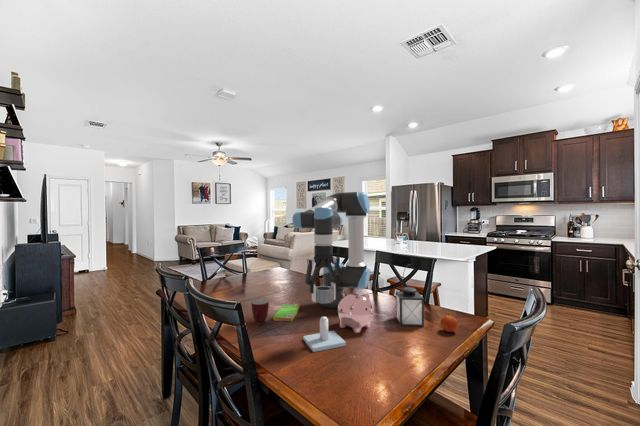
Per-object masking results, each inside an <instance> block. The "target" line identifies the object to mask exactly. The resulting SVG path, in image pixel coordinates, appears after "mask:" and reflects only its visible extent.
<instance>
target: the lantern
mask: <svg viewBox="0 0 640 426" xmlns="http://www.w3.org/2000/svg"><path fill="white" fill-rule="evenodd" d="M408 266H412V267H414V265H413V264H407V265H406V266H405V267H404V268H403V272H402V273H403V274H402V277H404V274H405V270H406V268H407V267H408ZM415 269H416V268H413V271H414V272H416V270H415ZM395 318H396V319H397V322H398V324H399V326H400V327H425V298H424V297H423V295H421V294H420V292H419V291H418V290H417V289H416V287H412V286H411V287H410V286H403V287H402V288H401V291H395Z"/></svg>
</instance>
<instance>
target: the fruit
mask: <svg viewBox="0 0 640 426" xmlns="http://www.w3.org/2000/svg"><path fill="white" fill-rule="evenodd" d="M440 325H441V326H440V327H441V328H442V329H443V330H444V331H446V332H447V333H453V332H455V331H456V330H457V329H458V321H457V319H456V317H454V316H453V315H449V313H447V315H444V316H442V317H441V320H440Z"/></svg>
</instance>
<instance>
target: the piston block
mask: <svg viewBox="0 0 640 426" xmlns="http://www.w3.org/2000/svg"><path fill="white" fill-rule="evenodd" d="M302 336H303V341H304V342H305V344H306V345H307V347H308V348H310V350H311V351H312V352H313V353H315V352H321V351H322V352H323V351H327V350H331V349H336V348H341V347H346V346H347V341H345V340H344V339H343V338H342V337H341V336H340V335H339V334H338V333H337V332H336V331H335V330H329V318H328V317H327V316H321V317H320V318H319V333H318V332H317V333H312V334H308V335H302Z"/></svg>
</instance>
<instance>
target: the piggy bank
mask: <svg viewBox="0 0 640 426" xmlns="http://www.w3.org/2000/svg"><path fill="white" fill-rule="evenodd" d="M342 294H343V298H342V299H341V301H340V302H339V305H338V308H337V314H338V318H339V320H340V323H339V328H341V329H345V328H347V327H349V328H351V329H352V330H353V333H354V334H355V333H356V334H358V333H361V332H362V329H363V328H367V329H368V328H370V327H371V322H372V320H373V318H374V317H375V311H374V306H373V304H372V301H371V299H370V294H369V293H366V294H359V293H358V294H357V293H347V294H346V295H344V294H345V292H344V293H342Z"/></svg>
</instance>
